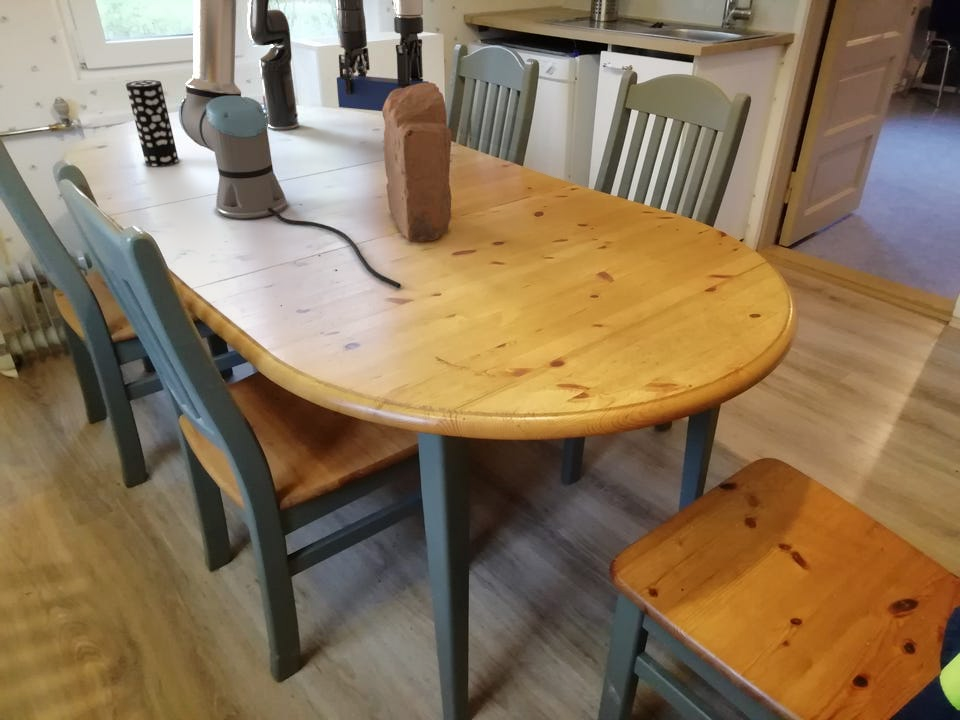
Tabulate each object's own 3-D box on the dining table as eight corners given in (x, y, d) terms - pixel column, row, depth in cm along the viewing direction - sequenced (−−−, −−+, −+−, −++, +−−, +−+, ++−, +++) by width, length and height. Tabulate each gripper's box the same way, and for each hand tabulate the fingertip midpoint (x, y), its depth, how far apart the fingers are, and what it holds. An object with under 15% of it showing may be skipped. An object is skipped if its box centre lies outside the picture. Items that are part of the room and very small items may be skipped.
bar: (429, 110, 193) (428, 81, 189) (422, 115, 189) (421, 85, 184) (347, 103, 199) (344, 74, 194) (338, 107, 194) (336, 77, 190)
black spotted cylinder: (184, 157, 190) (167, 80, 179) (169, 166, 183) (151, 87, 172) (155, 156, 190) (136, 79, 179) (139, 165, 183) (119, 86, 172)
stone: (462, 239, 143) (459, 96, 128) (408, 246, 140) (400, 100, 125) (434, 208, 160) (429, 79, 146) (387, 213, 157) (377, 82, 143)
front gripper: (407, 11, 187) (410, 101, 200) (380, 19, 172) (386, 115, 185) (433, 13, 186) (435, 103, 198) (409, 20, 171) (412, 117, 183)
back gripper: (350, 23, 191) (355, 85, 200) (326, 30, 180) (333, 95, 189) (375, 25, 190) (379, 87, 198) (353, 32, 178) (358, 97, 187)
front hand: (411, 108), depth 191 cm, fingers closed on bar, 5 cm apart
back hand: (356, 91), depth 194 cm, fingers open, 8 cm apart
